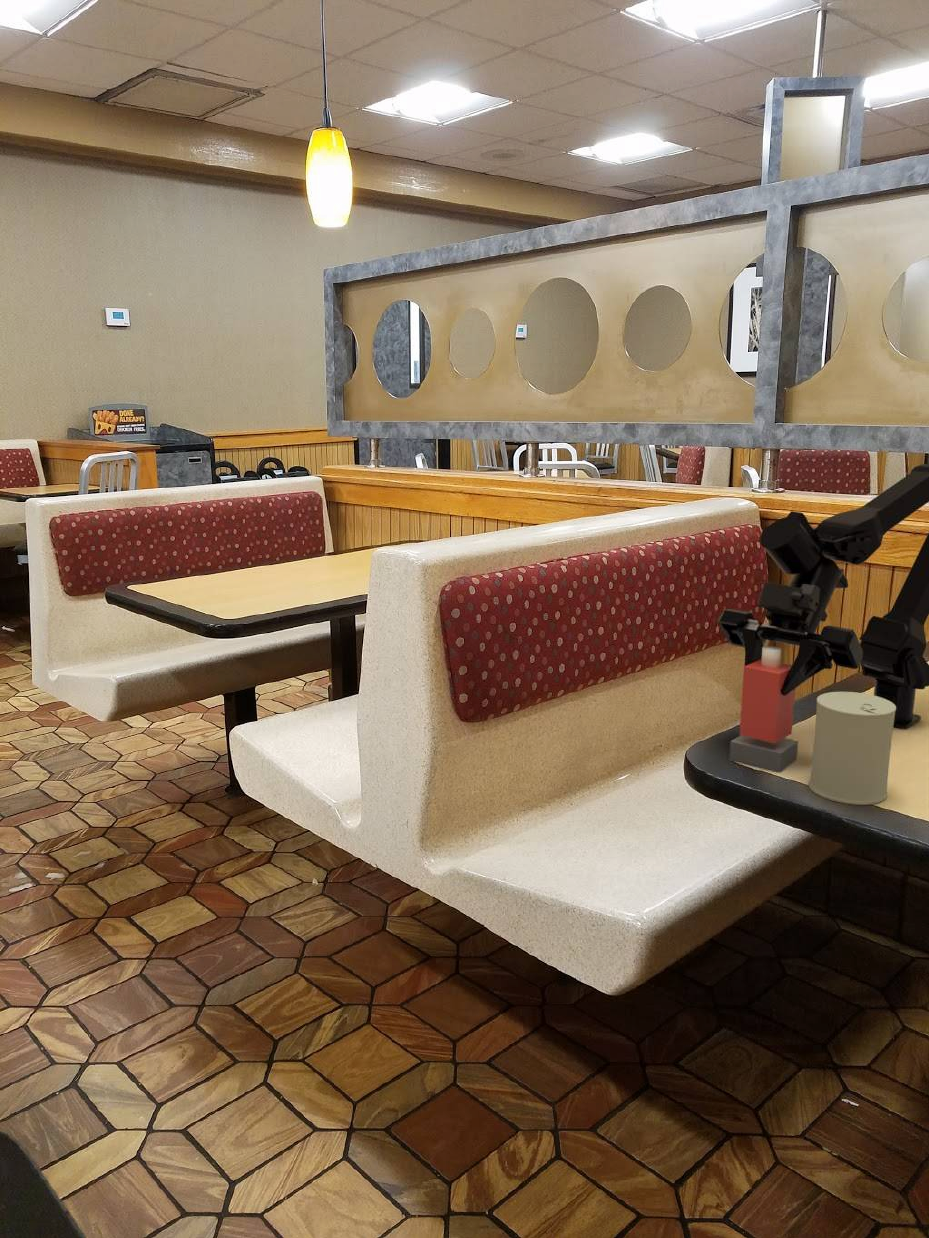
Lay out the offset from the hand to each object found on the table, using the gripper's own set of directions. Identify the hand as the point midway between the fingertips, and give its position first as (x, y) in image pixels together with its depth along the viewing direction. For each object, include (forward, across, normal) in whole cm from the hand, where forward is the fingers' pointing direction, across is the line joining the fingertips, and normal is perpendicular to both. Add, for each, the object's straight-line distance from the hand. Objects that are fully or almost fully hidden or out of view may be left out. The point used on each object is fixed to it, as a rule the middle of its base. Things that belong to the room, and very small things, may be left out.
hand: (763, 689), depth 128 cm
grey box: (+7, 0, +8) cm, 11 cm away
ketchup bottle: (+4, 0, +6) cm, 7 cm away
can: (+8, +12, +7) cm, 16 cm away
